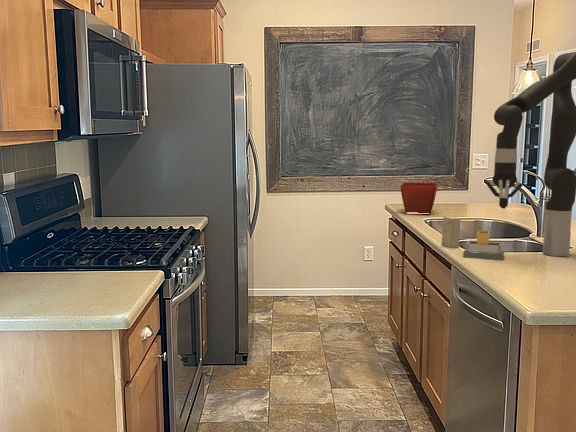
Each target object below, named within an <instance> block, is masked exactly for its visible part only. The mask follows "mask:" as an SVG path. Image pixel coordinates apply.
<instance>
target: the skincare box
mask: <svg viewBox="0 0 576 432" xmlns="http://www.w3.org/2000/svg"><path fill="white" fill-rule="evenodd" d="M442 218H443V219H442V234H441V246H443V247H446V248H449V249H456V248H460V247H459V246H460V232H461V231H460V230H461V217H457V216H452V215H451V216H450V215H449V216H448V215H447V216H443V217H442Z"/></svg>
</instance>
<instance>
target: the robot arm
mask: <svg viewBox="0 0 576 432" xmlns="http://www.w3.org/2000/svg"><path fill="white" fill-rule="evenodd" d="M552 72H553V73H551V74H549V75H547V76H545V77H544V78H542V79H540V80H538V81H536V82H534V83H532V84H531V85H530V86H528V87H527V88H525V89H524V90H523V91H522V92H520V93H519V94H518V95H517V96H516V97H513V98H511V99H510V100H507V101H506V102H504V103H503V104H501V105H500V106H498V108H497V109H496V110H495V112H494V114H493V120H494V122H495V123H496V124H497V125H500V126H503V129H502V131H501V132H499V133H498V134H497V135H496V144H495V146H496V147H495V153H494V171H493V176H492V178H491V179H492V180H490V181H488V182H487V183H486V186H487V188H488V189H489V190H490V191H491V193H492V194H493V195H494V197H497V198H499V204H498V206H499V207H500V208H501V209H503V210H505V209H506V208H508V204H509V201H508V200H509V198H512V197H513V196H515V195H516V193H518V192H519V190H520V189H521V188H522V187H523V183H522V182H520V181H518V178H517V163H518V162H517V161H518V160H517V158H518V151H517V146H518V136H519V134H520V129H521V127H522V123H523V119H524V118H523V117H524V116H523V113H526V112H529V111H531V110H533V109H534V108H535V107H537V105H539V104H540V103H542V102H543V101H544V100H545V99H547V98H548V97H550V96H551V95H552V108H551V109H552V110H551V116H550V118H551V119H550V129H549V130H550V131H549V143H548V154H547V160H546V166H545V171H544V175H543V176H544V177H543V180H544V181H543V182H544V185H545V187H546V188H547V189H548V190H550V191H551V194H550V197H549V199H548V200H547V201H546V202H545V207H544V208H545V209H544V210H545V211H544V226H543V227H544V228H543V241H542V242H543V243H542V254H543V255H547V256H550V257H551V256H552V257H570V252H571V251H570V250H571V249H570V247H571V234H572V233H571V232H572V231H571V228H572V216H573V215H572V212H573V206H574V205H575V201H576V173H575V172H574V171H573V170H572V169H571V168H568V167H567V163H568V154H569V152H570V148H571V146H572V145H573V143H574V141H575V138H576V102H575V100H574V98H573V97H574V96H573V94H572V86H573V81H575V80H576V51H572V52H566V53H562V54H560V55H558V56H557V57H556V59H555V60H554V63H553V67H552ZM494 186H496V187H497V189H498V191H497V190H496V188H495V187H494ZM513 186H515V188H514V189H513V190H512V191H511V192H510V189H511V188H513ZM509 192H510V193H509Z"/></svg>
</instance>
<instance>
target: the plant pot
mask: <svg viewBox="0 0 576 432" xmlns="http://www.w3.org/2000/svg"><path fill="white" fill-rule="evenodd" d="M437 189H438V182H403V183H402V184H400V192H401V199H402V203H403V207H404V210H405V213H406V212H418V213H430V214H431V213H432V211H433V207H434V203H435V199H436V195H437ZM431 210H432V211H431Z"/></svg>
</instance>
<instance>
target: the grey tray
mask: <svg viewBox="0 0 576 432" xmlns="http://www.w3.org/2000/svg"><path fill="white" fill-rule="evenodd" d="M503 247H504V245H503V242H492V241H491V242H490V241H489V245H485V244H477V240H467V241H466V243H465V249H464V250H463V252H462V257H463V258H469V259H470V258H471V259H482V260H493V261H494V260H495V261H504V257H505V250H503Z"/></svg>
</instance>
